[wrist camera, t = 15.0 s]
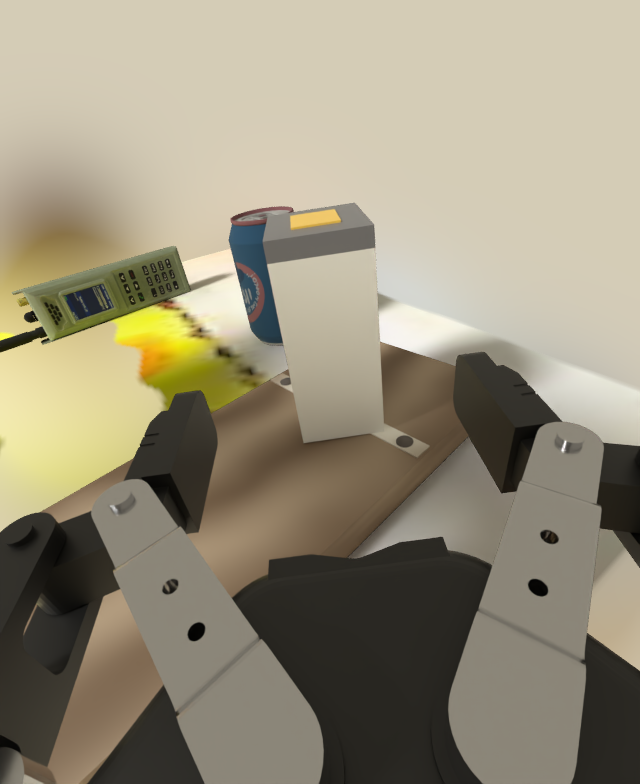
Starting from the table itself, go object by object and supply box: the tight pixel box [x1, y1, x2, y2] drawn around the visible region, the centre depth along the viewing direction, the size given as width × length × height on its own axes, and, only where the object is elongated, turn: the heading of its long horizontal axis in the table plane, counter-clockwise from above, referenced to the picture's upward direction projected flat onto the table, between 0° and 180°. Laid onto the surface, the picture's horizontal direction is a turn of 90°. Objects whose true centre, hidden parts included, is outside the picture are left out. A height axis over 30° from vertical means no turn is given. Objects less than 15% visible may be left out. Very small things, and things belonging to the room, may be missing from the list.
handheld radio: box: [0, 246, 191, 352], centre depth 52 cm, size 7×3×25 cm
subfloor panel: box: [23, 342, 468, 784], centre depth 24 cm, size 14×30×2 cm, turn 134°
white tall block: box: [263, 203, 384, 443], centre depth 23 cm, size 5×6×12 cm
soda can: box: [229, 207, 293, 346], centre depth 39 cm, size 7×7×12 cm
